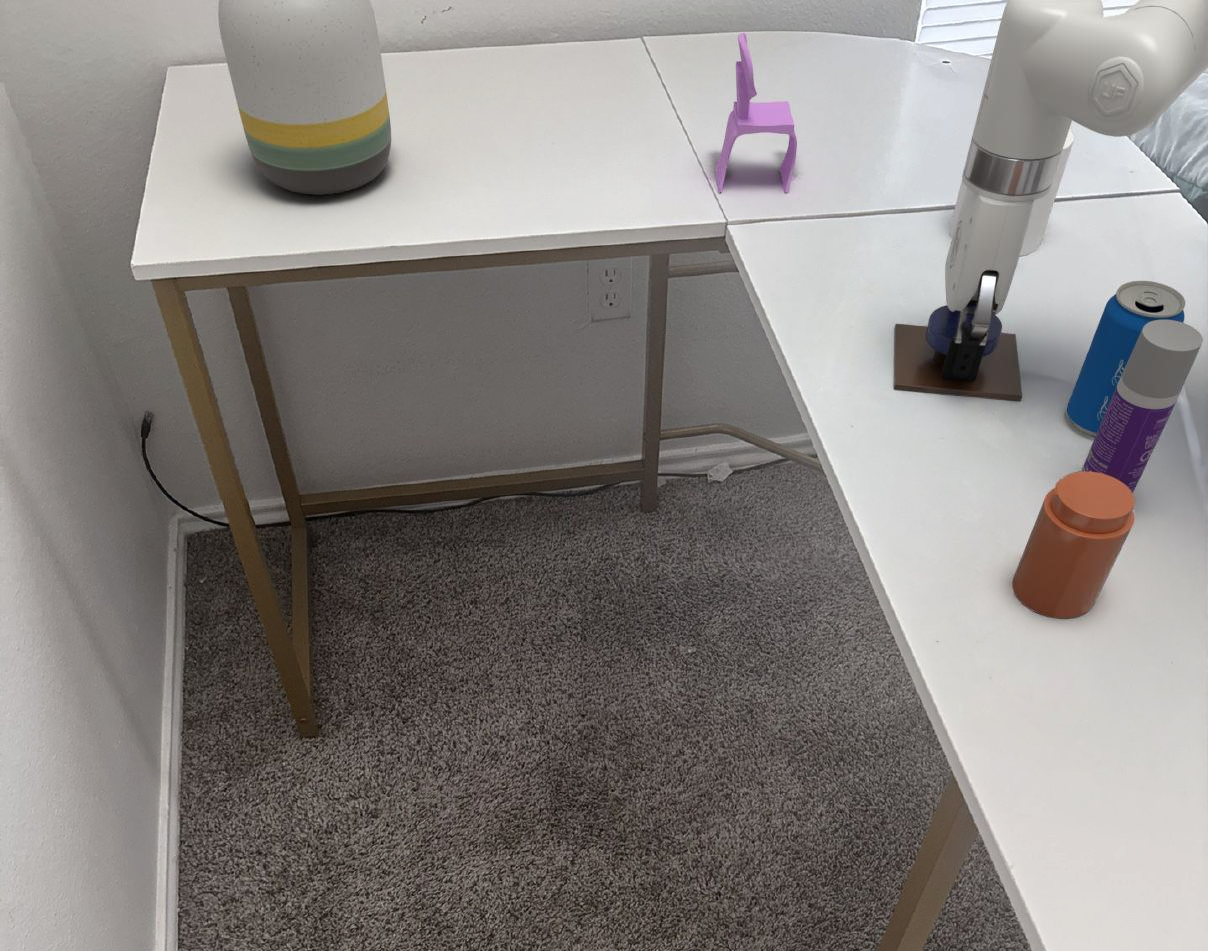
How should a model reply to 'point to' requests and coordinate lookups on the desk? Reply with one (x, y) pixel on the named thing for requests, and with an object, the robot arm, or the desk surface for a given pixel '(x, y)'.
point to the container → (1143, 400)
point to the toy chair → (755, 119)
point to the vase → (309, 90)
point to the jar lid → (945, 328)
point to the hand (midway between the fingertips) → (956, 356)
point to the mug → (1040, 205)
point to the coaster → (924, 365)
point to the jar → (1074, 544)
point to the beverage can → (1118, 346)
